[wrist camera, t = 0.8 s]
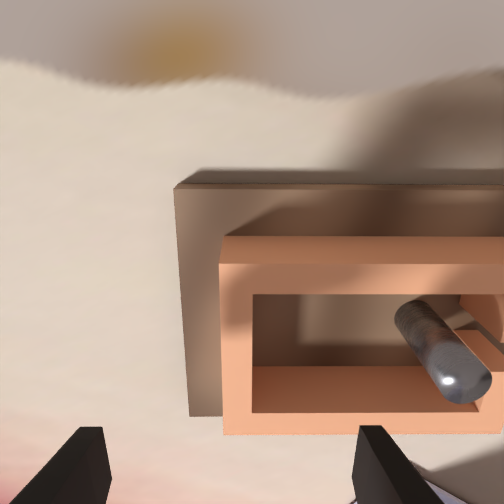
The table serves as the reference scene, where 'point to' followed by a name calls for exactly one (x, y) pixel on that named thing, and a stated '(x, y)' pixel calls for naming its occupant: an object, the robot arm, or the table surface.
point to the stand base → (315, 305)
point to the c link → (357, 377)
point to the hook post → (442, 353)
